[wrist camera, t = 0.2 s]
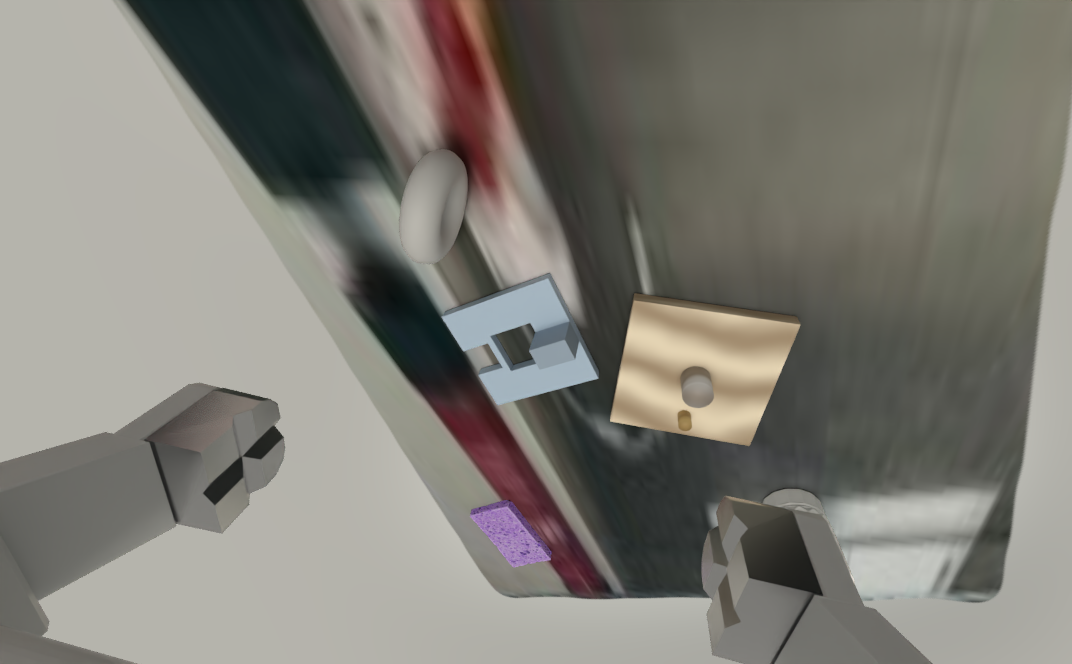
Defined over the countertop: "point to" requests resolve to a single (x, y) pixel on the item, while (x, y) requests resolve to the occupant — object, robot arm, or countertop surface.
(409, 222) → the donut
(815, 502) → the white cup
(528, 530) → the sponges
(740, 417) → the post board
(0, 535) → the robot arm
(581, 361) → the flange plate
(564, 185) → the countertop surface
